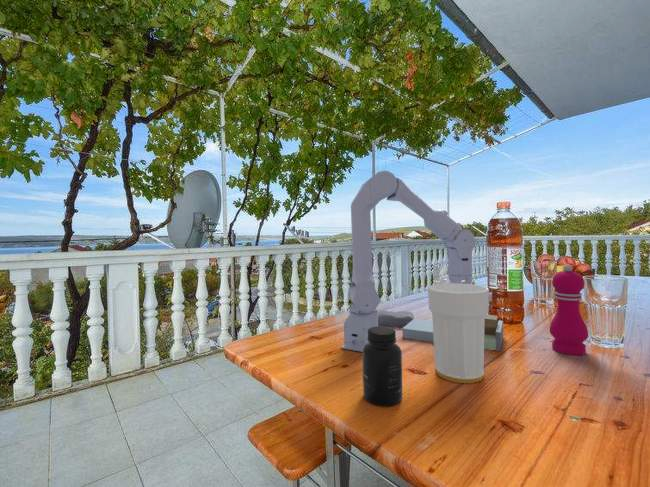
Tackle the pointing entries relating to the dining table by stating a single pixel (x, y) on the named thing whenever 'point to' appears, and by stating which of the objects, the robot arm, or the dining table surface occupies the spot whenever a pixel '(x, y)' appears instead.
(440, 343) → the cup
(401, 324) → the stone block
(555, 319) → the pepper mill
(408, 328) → the board
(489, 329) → the walnut cube
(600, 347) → the dining table surface
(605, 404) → the dining table surface
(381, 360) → the supplement bottle
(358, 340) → the robot arm
